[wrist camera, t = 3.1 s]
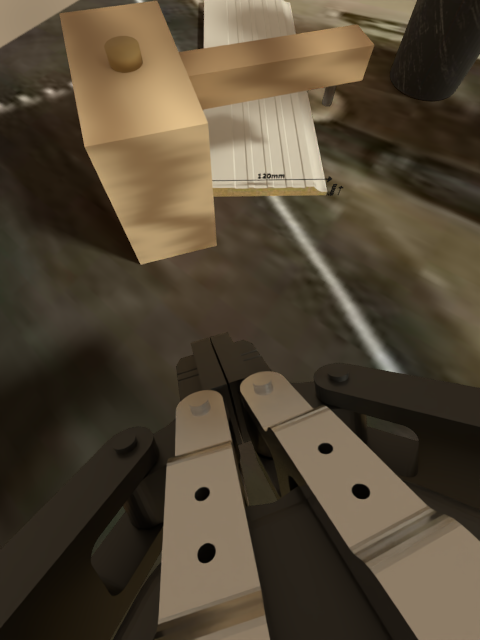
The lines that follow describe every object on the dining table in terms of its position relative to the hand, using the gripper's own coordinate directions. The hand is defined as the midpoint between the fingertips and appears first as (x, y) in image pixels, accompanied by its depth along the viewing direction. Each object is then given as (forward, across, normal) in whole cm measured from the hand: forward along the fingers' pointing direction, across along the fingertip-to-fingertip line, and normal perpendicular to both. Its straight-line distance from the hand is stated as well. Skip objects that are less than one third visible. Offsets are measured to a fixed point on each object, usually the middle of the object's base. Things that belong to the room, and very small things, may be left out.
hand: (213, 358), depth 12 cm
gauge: (+18, -6, -6) cm, 20 cm away
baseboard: (+27, -14, -15) cm, 34 cm away
